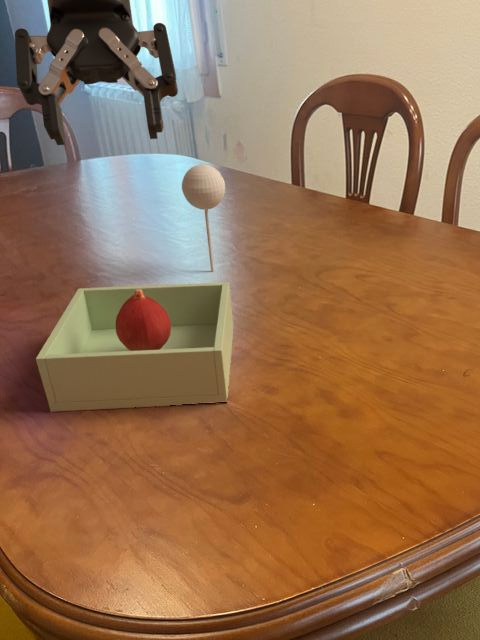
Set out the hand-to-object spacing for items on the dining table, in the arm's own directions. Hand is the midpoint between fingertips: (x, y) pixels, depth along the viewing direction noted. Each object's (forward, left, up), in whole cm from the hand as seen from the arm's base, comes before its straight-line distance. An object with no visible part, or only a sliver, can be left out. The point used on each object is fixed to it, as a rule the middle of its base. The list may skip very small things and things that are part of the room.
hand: (106, 137), depth 61 cm
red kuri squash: (+1, -1, -23) cm, 23 cm away
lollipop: (+6, +28, -24) cm, 37 cm away
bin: (+1, -1, -24) cm, 24 cm away
